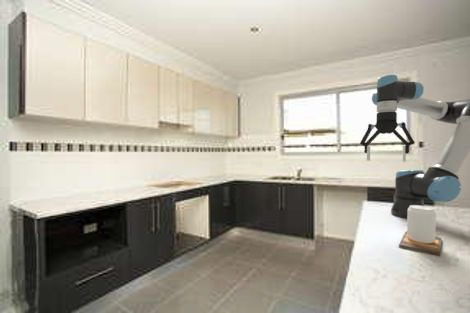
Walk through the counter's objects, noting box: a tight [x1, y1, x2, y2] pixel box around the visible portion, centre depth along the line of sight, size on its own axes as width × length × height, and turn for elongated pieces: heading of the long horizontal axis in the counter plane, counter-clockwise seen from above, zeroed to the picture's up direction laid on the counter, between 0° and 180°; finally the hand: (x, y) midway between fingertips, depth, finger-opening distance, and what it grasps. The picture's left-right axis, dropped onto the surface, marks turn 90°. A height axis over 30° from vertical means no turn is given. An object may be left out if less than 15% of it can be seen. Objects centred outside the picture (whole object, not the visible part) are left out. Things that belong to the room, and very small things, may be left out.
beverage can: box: [406, 205, 437, 244], centre depth 90 cm, size 8×8×12 cm
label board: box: [398, 230, 442, 257], centre depth 90 cm, size 18×11×1 cm, turn 139°
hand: (385, 161), depth 109 cm, fingers open, 13 cm apart
